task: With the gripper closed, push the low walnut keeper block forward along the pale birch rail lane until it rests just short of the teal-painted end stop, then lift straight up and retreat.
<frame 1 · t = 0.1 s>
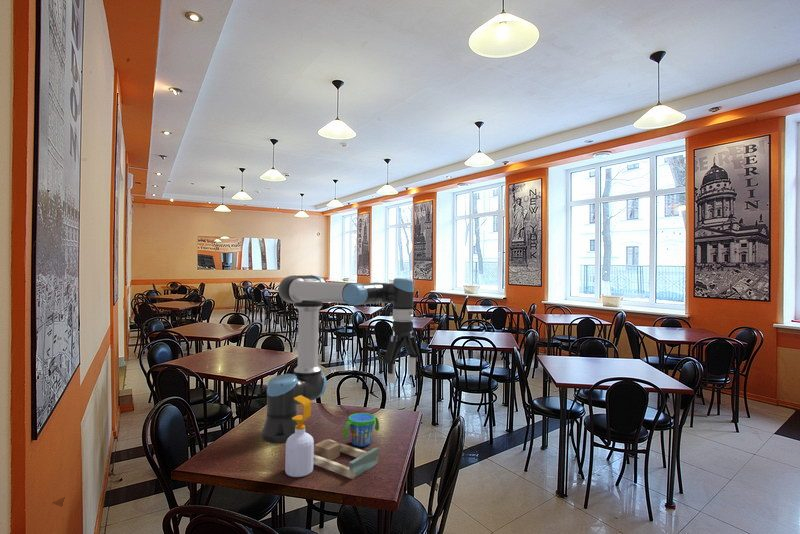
hand: (401, 378, 149), 28 cm above the table, fingers open, 13 cm apart
snack cup: (361, 443, 159), on the table
keeper: (326, 456, 147), on the table
soap bottle: (299, 471, 136), on the table
lane: (339, 460, 144), on the table
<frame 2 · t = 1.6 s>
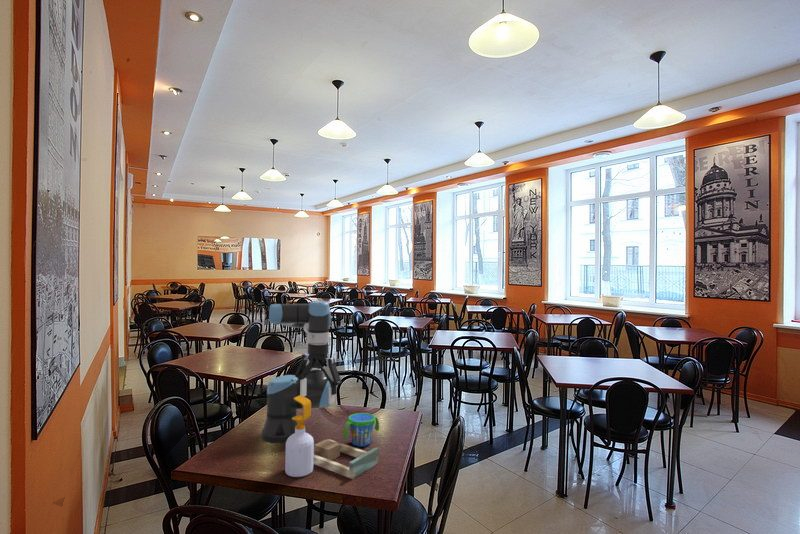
hand: (317, 399, 152), 19 cm above the table, fingers open, 13 cm apart
nothing on the table moved.
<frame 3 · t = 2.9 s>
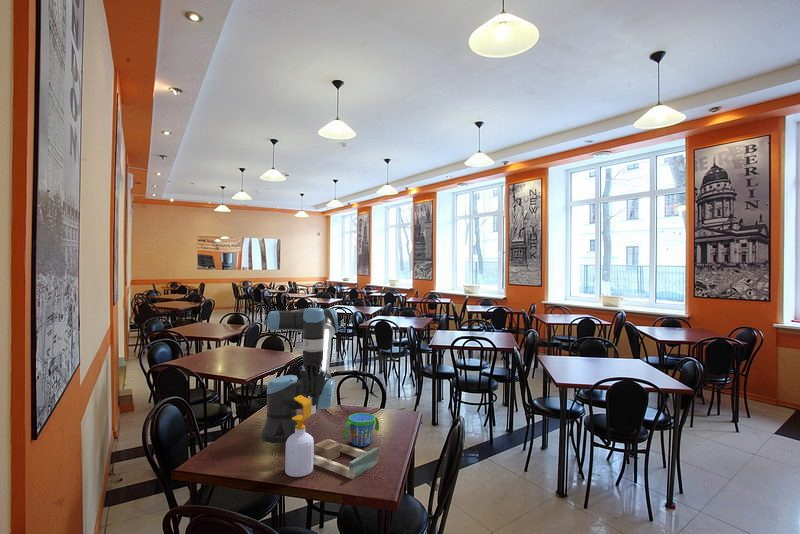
hand: (311, 413, 151), 14 cm above the table, fingers closed
nothing on the table moved.
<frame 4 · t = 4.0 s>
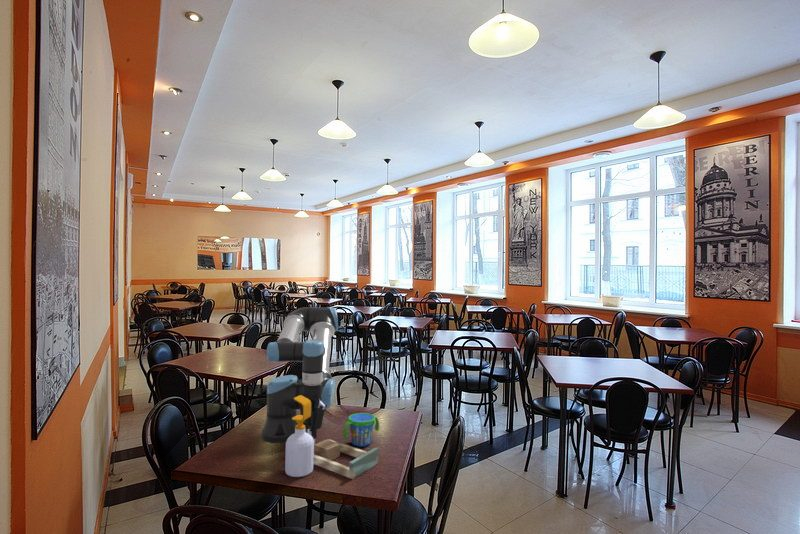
hand: (311, 446, 151), 1 cm above the table, fingers closed
nothing on the table moved.
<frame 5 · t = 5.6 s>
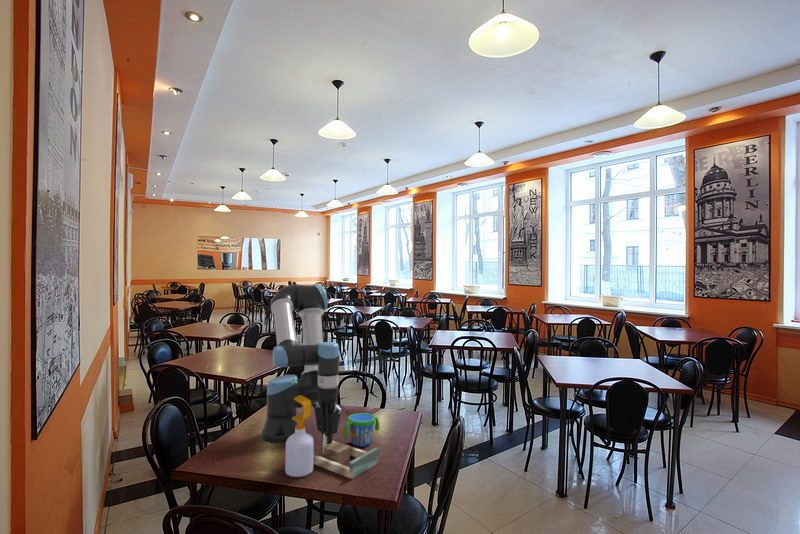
hand: (326, 452, 147), 2 cm above the table, fingers closed
keeper: (336, 459, 145), on the table, touching gripper
everything else where it was.
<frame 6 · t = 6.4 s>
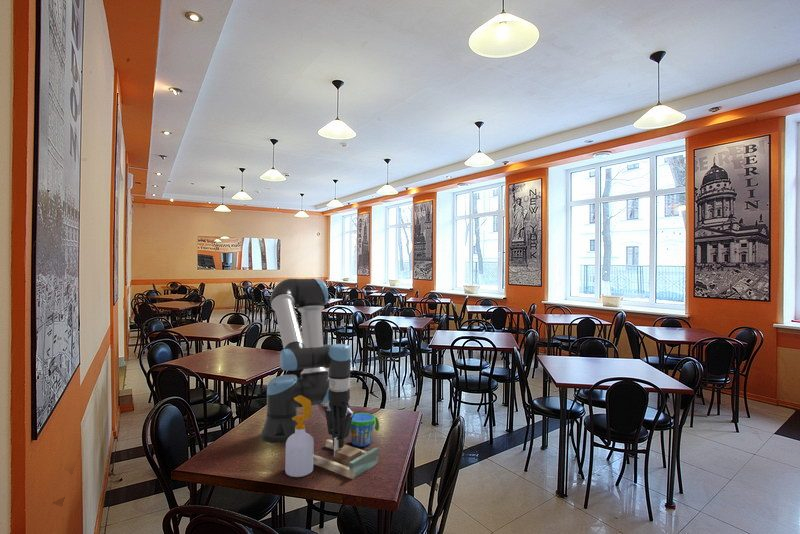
hand: (338, 456, 144), 2 cm above the table, fingers closed
keeper: (348, 463, 142), on the table, touching gripper
everything else where it was.
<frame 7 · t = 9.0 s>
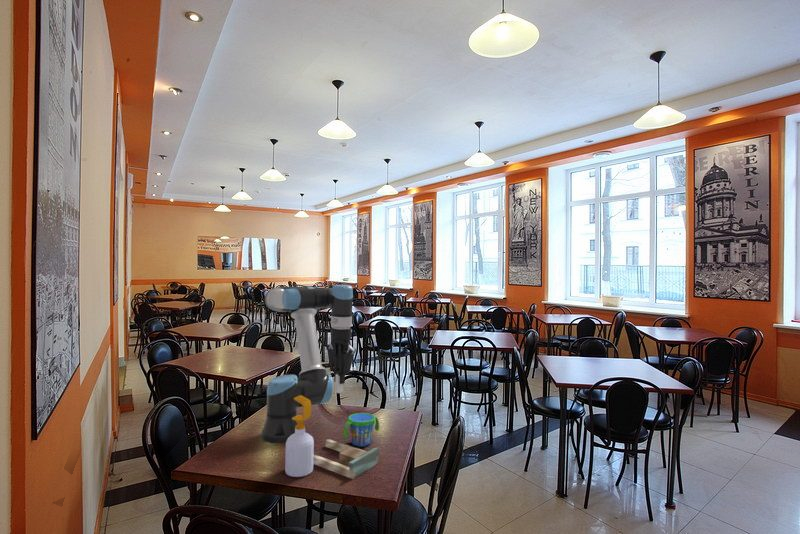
hand: (339, 391, 149), 23 cm above the table, fingers closed
keeper: (352, 465, 141), on the table
everything else where it was.
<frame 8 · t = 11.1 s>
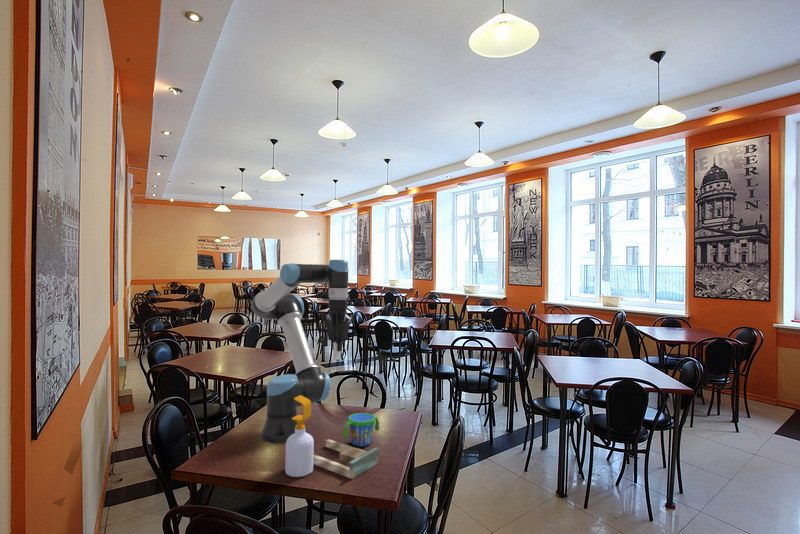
hand: (336, 358, 160), 32 cm above the table, fingers closed
nothing on the table moved.
at the end: keeper inside the target area (1.1 cm from its centre), on the table; keeper tilted 0°; keeper moved 11.8 cm from its start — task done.
